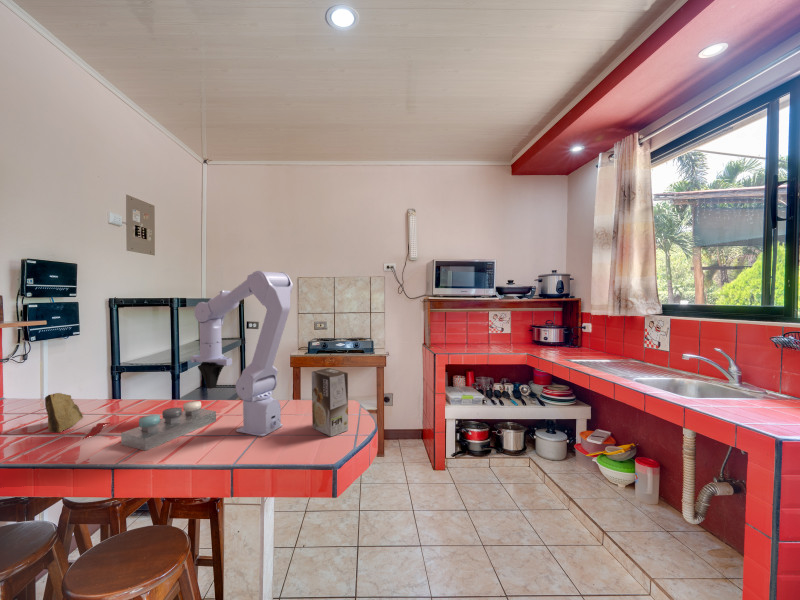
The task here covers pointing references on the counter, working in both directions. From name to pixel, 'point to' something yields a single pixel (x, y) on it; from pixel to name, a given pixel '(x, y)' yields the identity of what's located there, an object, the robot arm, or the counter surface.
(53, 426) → the rock
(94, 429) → the cayenne pepper
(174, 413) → the button charcoal
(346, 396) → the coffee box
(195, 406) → the button ivory
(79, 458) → the counter surface
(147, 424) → the button teal
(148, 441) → the panel
